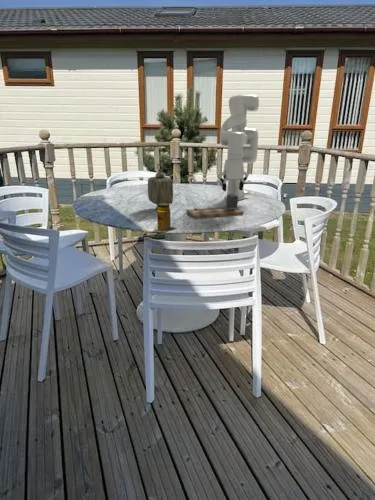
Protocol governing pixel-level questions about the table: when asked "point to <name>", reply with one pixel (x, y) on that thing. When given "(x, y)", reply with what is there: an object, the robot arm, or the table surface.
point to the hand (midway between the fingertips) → (232, 190)
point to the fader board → (212, 212)
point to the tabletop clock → (160, 188)
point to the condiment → (164, 218)
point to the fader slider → (232, 202)
